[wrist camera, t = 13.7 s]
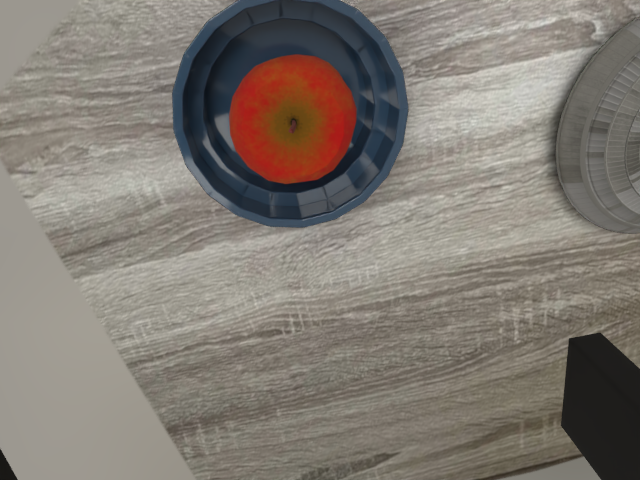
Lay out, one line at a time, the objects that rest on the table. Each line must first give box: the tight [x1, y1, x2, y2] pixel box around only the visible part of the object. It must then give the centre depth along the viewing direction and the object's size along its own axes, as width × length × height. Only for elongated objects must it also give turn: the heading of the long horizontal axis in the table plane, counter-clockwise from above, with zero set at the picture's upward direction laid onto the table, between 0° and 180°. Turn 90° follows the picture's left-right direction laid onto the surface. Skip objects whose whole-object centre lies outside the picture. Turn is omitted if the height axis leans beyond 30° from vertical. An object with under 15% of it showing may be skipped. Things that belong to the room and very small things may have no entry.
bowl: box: [172, 0, 408, 228], centre depth 28 cm, size 12×12×5 cm
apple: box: [229, 54, 357, 184], centre depth 26 cm, size 6×6×8 cm
